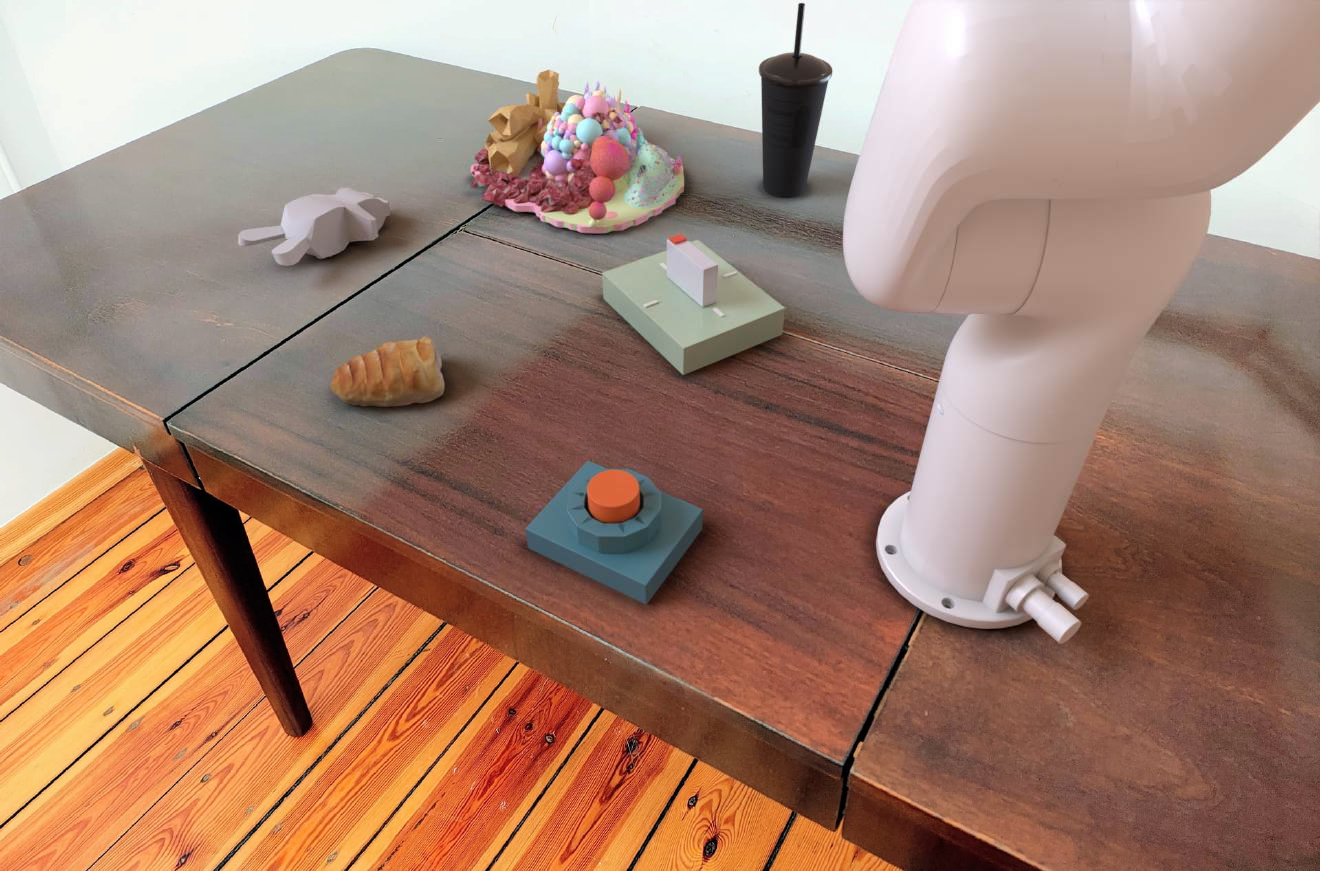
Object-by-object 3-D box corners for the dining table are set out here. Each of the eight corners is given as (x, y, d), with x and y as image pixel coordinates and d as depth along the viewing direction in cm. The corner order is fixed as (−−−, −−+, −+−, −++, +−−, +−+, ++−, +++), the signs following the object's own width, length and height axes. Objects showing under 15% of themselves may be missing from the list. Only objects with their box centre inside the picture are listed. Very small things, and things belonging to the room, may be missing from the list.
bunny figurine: (405, 194, 97) (285, 241, 87) (410, 239, 100) (294, 289, 90) (344, 170, 101) (222, 212, 91) (351, 214, 104) (233, 259, 94)
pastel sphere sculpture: (434, 198, 105) (419, 119, 98) (541, 117, 120) (535, 44, 114) (633, 248, 97) (630, 166, 91) (720, 155, 112) (723, 78, 106)
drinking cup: (829, 182, 107) (852, -1, 94) (799, 210, 102) (820, 22, 89) (770, 166, 110) (784, -14, 97) (738, 192, 106) (749, 8, 92)
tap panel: (782, 334, 86) (785, 306, 84) (683, 375, 82) (683, 346, 79) (697, 265, 95) (697, 237, 92) (603, 298, 90) (601, 271, 88)
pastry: (337, 423, 77) (326, 388, 75) (332, 375, 82) (321, 340, 79) (451, 399, 79) (443, 364, 77) (439, 354, 84) (432, 319, 81)
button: (649, 498, 66) (649, 480, 65) (622, 531, 64) (621, 514, 62) (606, 479, 67) (605, 462, 66) (578, 511, 65) (576, 494, 64)
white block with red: (717, 302, 84) (718, 261, 82) (702, 307, 84) (703, 267, 81) (680, 271, 88) (681, 232, 85) (666, 276, 88) (666, 237, 85)
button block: (702, 529, 68) (704, 491, 66) (646, 605, 63) (645, 568, 61) (589, 480, 72) (586, 442, 69) (527, 548, 67) (522, 511, 64)
